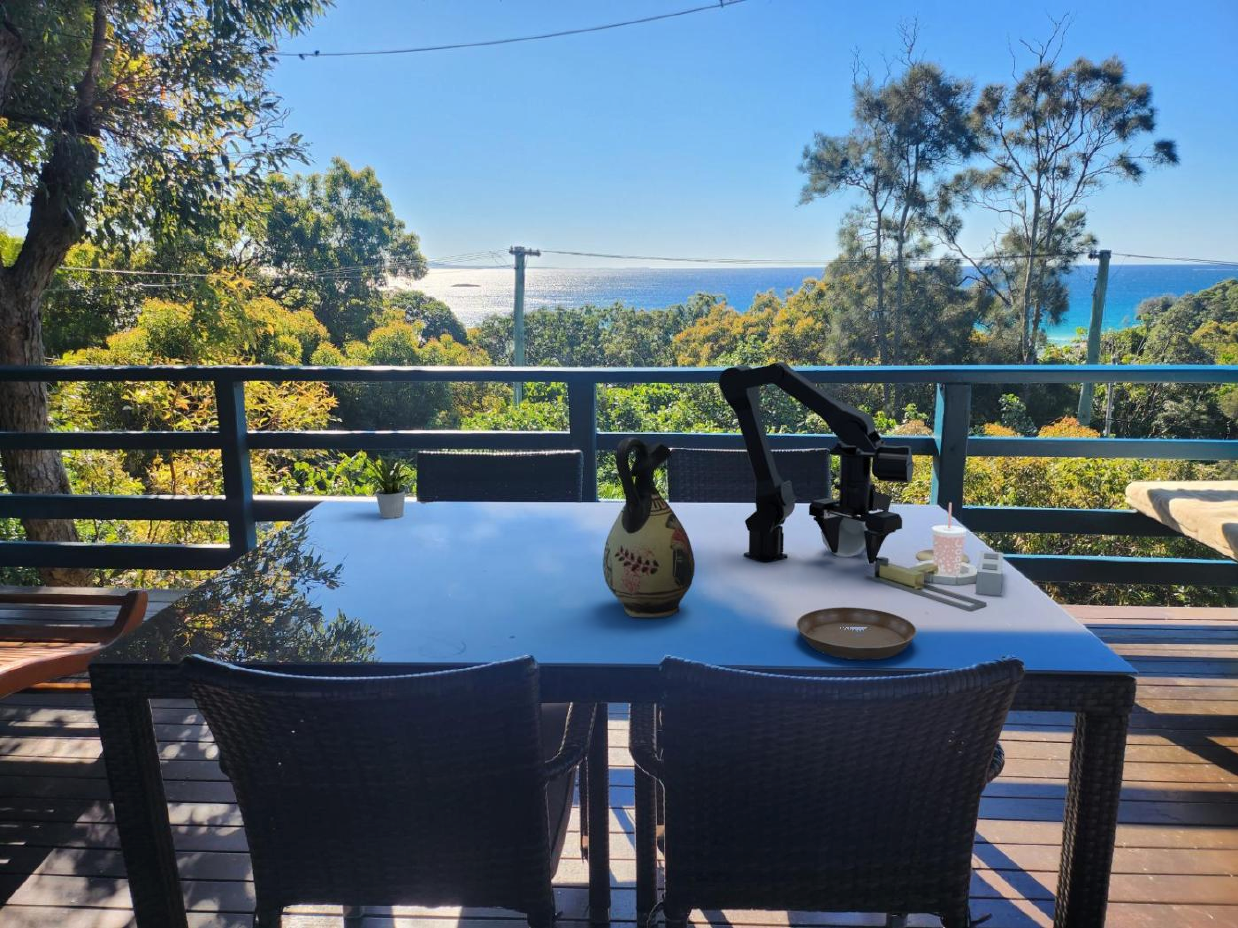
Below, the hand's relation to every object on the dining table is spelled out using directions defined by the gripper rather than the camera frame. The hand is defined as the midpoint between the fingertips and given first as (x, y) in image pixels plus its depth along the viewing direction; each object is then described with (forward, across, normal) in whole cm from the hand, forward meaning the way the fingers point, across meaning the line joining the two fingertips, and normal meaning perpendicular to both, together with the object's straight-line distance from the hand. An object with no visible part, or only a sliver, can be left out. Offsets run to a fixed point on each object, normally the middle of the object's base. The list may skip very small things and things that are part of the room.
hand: (852, 558), depth 175 cm
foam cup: (-2, +14, -16) cm, 21 cm away
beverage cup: (+2, -13, -11) cm, 17 cm away
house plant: (+2, +97, +59) cm, 113 cm away
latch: (+2, -11, -3) cm, 11 cm away
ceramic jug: (+2, +4, +46) cm, 46 cm away
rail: (+2, -16, 0) cm, 16 cm away
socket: (+2, -16, -10) cm, 19 cm away
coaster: (+2, -6, -20) cm, 20 cm away
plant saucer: (+3, -26, +28) cm, 39 cm away
